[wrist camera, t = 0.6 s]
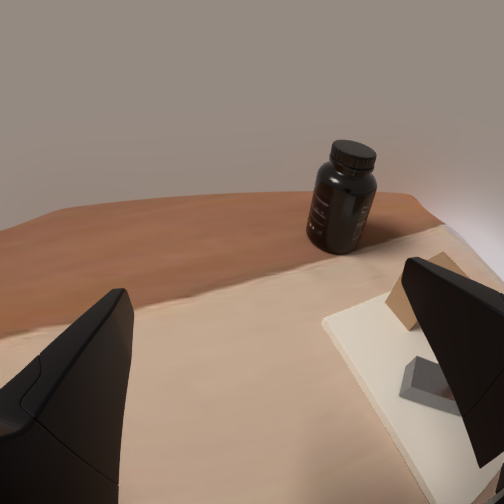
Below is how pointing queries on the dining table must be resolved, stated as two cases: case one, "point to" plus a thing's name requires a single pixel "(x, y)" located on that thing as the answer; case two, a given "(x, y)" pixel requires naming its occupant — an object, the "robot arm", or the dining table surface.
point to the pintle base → (404, 410)
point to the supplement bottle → (342, 197)
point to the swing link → (427, 385)
